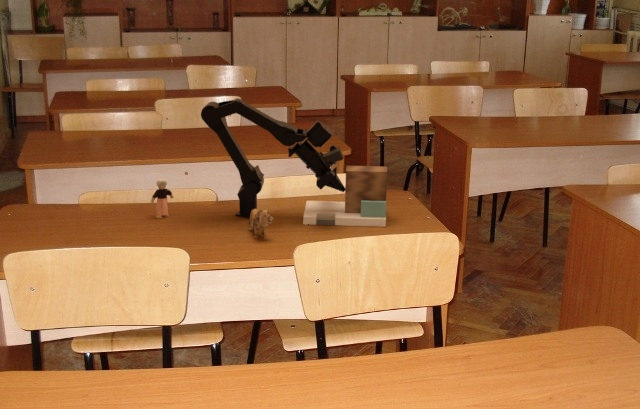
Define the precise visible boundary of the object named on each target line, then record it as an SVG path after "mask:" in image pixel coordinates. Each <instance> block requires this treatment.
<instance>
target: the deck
mask: <svg viewBox="0 0 640 409" xmlns="http://www.w3.org/2000/svg"><path fill="white" fill-rule="evenodd" d="M387 203H388V202H387V200H386V201H363V200H361V213H345V201H336V200H335V201H330V200H329V201H328V200H306V203H305V207H304V208H305V209H304V212H303V219H302V220H303V225H308V224H309V225H314V226H315V225H316V226H345V227H346V226H349V227H352V226H353V227H382V228H383V227H387ZM309 225H308V226H309Z"/></svg>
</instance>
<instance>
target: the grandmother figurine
mask: <svg viewBox="0 0 640 409" xmlns="http://www.w3.org/2000/svg"><path fill="white" fill-rule="evenodd" d="M167 184H168V182H167V180H166V179H164V178H159V179H157V180H156V186H157V187H158V189H156V190H155V192H154V193H153V195H152V196H151V200H150V203H151V204H154V203H155V200H156V208H155V209H156V211H155V214H156V215H155V218H156V219H162V218H163V217H164V218H167V217H170V214H169V211H168V210H169V209H168V196H169V198H170V199H174V195H173V193H172V191H171V190H170V189H168V188H166V187H167Z"/></svg>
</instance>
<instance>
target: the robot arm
mask: <svg viewBox="0 0 640 409" xmlns="http://www.w3.org/2000/svg"><path fill="white" fill-rule="evenodd" d="M234 114H237V115H239V116H241V117H242V118H245V119H246V120H247V121H250V122H251V123H253V124H255V125H257V126H258V127H260V128H262V129H263V130H266V131H267V132H268V133H270V134H271V136H272V137H274V139H276V140H277V141H278V142H279V143H280V144H282V145H283V146H285V147H288V148H287V151H288V158H291V157H292V156H294V154H295V156H296V157H297V158H298V159H300V160H301V161H302V162H303V164H305V167H306V169H307V170H310V171H312V172H313V174H314V176H315V178H316V181H315V182H316V185H315V186H316V187H317V188H318V189H319V190H320V191H321V190H322V189H323V188H325V187H329V188H331V189H334V190H336V191H339V192H343V193H345V185H344V184H343V182H342V181H341V179H340V177H339V176H338V167H337V166H336V167H334V168H331V167H332V166H333V165H336V164H337V162H341V161H343V160H344V154H343V151H342V149H341V147H340V146H336V145H335V144H333V145H330V146H329V150H328V151H327V152H322V151H320V150H317V149H316V148H322V147H323V146H324V145H325V144H326V143H328V141H329V140H330V139H331V138H333V137H334V133H333V131H332V130H331V128H329V127H328V125H325V123H323V122H322V121H320V120H319V119H318V120H316V122H314V124H313V125H312V126H311V127H310V128H309V129H305V128H298V127H297V126H296V125H294V124H291V123H289V122H286V121H283V120H278V119H275V118H273V117H272V116H270V115H268V114H266V113H265V112H263V111H261V110H259V109H258V108H256V107H254V106H252V105H250V103H247V102H245V101H244V100H243V99H241V98H234V99H231V100H226V101H220V102H217V101H210V102H208V103H206V104H205V105H204V106H203V108H202V109H201V112H200V118H201V119H202V120H203V122H204V123H205V124H206V126H207V127H208V128H209V129H210V130H212V131H213V132H214V133H215V134H216V136H217V137H218V139H219V141H220V143H221V144H222V145H223V147H224V149H225V150H226V152H227V154H228V155H229V157H230V159H231V160H232V162H233V164H234V165H235V167H236V168H237V171H238V173H239V174H238V175H239V178H240V181H241V183H242V184H241V186H240V187H239V190H238V191H237V194H236V196H237V197H238V200H239V201H238V202H239V204H238V206H239V211H238V212H235V216H239V217H244V218H249V219H250V213H251V211H252V210H253V209H258V194H260V192H261V191H262V189H263V186H264V183H265V179H264V177H265V174H264V173H263V172H262V171H261V169H260V166H259V164H257V165H255V166H253V164H251V163H250V160H248V158H247V156H246V155H245V153H244V150H243V149H242V147H241V146H240V145H239V142H238V141H237V140H236V137H235V136H234V134H233V133H232V131H231V129H230V128H229V126H228V122H227V119H226V117H228V116H231V115H234Z"/></svg>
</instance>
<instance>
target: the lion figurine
mask: <svg viewBox="0 0 640 409" xmlns="http://www.w3.org/2000/svg"><path fill="white" fill-rule="evenodd" d="M273 220H274V217H273V216H272V215H270V213H269V210H266V209H265V210H264V209H263V210H260V209H258V208H257V209H253V210H252V211H251V213H250V218H249V221H250V222H249V223H248V224H249V228H248V231H249V232H251V231H253V230H254V236H253V237H254V238H255V239H258V238H259V233H258V230H261V233H260V234H261V236H262V237H266V236H267V234H266V233H265V232H266V230H265V229H266V227H267V226H268V225H269V224H272V221H273Z"/></svg>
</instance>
